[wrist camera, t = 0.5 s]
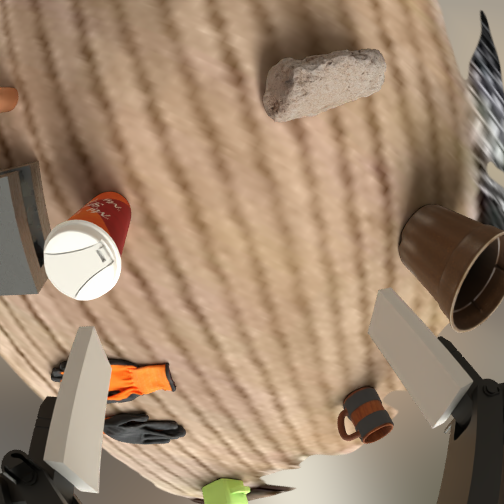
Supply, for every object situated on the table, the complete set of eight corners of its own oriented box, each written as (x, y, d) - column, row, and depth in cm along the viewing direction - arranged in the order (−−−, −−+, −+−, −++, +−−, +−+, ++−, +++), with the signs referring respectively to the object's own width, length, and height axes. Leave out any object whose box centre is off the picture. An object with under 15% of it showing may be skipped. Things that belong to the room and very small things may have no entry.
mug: (327, 399, 62) (346, 440, 52) (375, 380, 63) (398, 417, 52) (328, 417, 66) (345, 455, 56) (373, 399, 67) (393, 434, 57)
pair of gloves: (42, 352, 43) (36, 366, 40) (172, 355, 48) (172, 369, 45) (86, 433, 55) (85, 445, 52) (187, 436, 60) (188, 448, 57)
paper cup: (122, 172, 34) (89, 209, 21) (150, 226, 37) (134, 287, 25) (71, 200, 34) (22, 249, 21) (99, 250, 37) (68, 316, 25)
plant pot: (466, 224, 48) (527, 264, 34) (418, 291, 52) (470, 344, 38) (429, 172, 42) (506, 208, 27) (371, 253, 46) (433, 313, 32)
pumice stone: (265, 125, 35) (292, 132, 26) (252, 65, 31) (274, 51, 22) (373, 107, 36) (421, 113, 27) (364, 54, 32) (410, 46, 23)
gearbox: (218, 492, 81) (223, 515, 73) (194, 490, 76) (198, 514, 68) (252, 476, 77) (259, 501, 69) (227, 474, 72) (233, 501, 64)
